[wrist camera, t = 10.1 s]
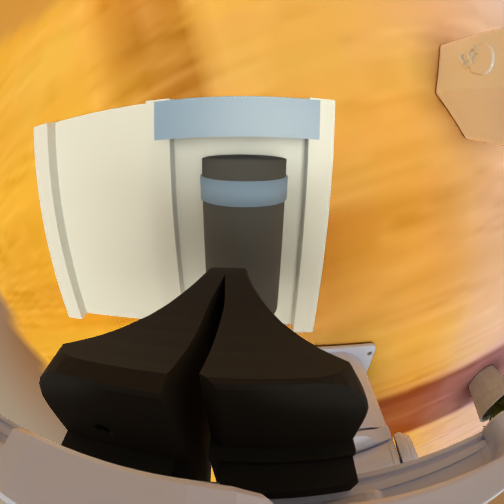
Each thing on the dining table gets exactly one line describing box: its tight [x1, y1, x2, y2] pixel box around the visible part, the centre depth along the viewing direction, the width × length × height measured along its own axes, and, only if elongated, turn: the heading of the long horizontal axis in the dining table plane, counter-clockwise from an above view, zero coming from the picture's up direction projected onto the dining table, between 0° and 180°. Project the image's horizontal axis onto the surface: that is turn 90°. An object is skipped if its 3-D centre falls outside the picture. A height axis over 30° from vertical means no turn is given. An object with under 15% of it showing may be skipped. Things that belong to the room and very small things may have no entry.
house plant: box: [469, 365, 504, 427], centre depth 20 cm, size 14×14×16 cm
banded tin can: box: [200, 154, 288, 314], centre depth 16 cm, size 9×5×5 cm, turn 179°
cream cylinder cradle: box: [34, 96, 335, 332], centre depth 17 cm, size 16×20×4 cm
